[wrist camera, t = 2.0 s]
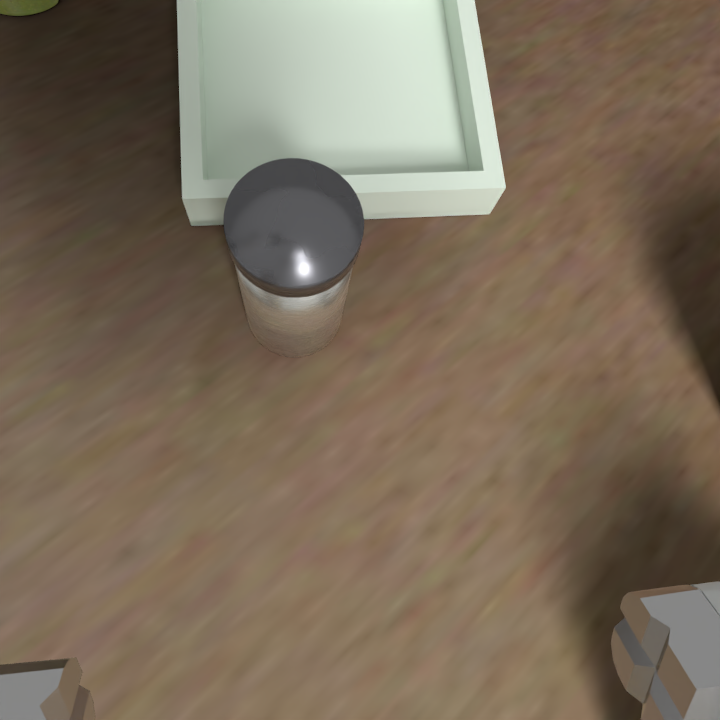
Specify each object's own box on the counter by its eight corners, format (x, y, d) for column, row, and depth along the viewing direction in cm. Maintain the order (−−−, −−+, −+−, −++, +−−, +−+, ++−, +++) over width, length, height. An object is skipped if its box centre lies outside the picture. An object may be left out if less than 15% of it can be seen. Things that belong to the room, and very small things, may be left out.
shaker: (247, 362, 31) (226, 289, 22) (242, 268, 33) (220, 159, 23) (347, 356, 32) (370, 281, 22) (339, 264, 33) (357, 156, 24)
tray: (191, 225, 33) (182, 199, 30) (183, -26, 37) (175, -69, 34) (489, 214, 35) (505, 187, 32) (451, -24, 39) (463, -65, 36)
